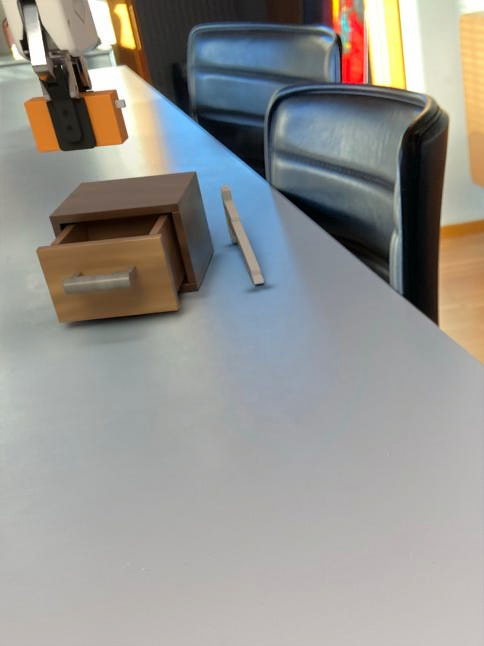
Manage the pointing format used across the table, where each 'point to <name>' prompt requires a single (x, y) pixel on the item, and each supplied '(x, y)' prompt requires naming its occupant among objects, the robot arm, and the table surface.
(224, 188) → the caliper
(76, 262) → the drawer
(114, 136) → the orange brick with nub
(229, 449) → the table surface
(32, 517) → the table surface
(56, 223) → the cabinet
